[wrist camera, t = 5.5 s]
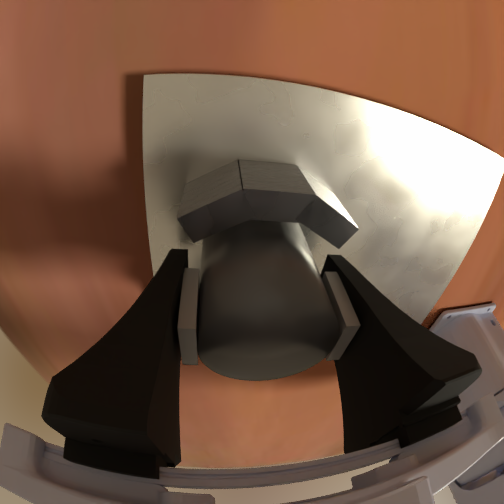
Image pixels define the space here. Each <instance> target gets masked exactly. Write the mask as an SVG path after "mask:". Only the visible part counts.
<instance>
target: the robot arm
mask: <svg viewBox="0 0 504 504" xmlns="http://www.w3.org/2000/svg"><path fill="white" fill-rule="evenodd" d="M185 268H188V249H171V250H170V251H169V252H168V254H167V256H166V258H165V260H164V261H163V263H162V265H161V266H160V268H159V269H158V271H157V272H156V274H155V275H154V277H153V278H152V280H151V281H150V283H149V284H148V286H147V287H146V288H145V290H144V291H143V292H142V294H141V295H140V296H139V297H138V299H137V300H136V301H135V303H134V304H133V305H132V306H131V308H130V309H129V310H128V311H127V312H126V313H125V315H124V316H123V317H122V318H121V319H120V320H119V321H118V322H117V323H116V324H115V325H114V326H113V327H112V328H111V329H110V330H109V332H108V333H107V334H106V335H104V336H103V337H102V338H101V339H100V340H99V341H98V342H97V343H96V344H95V345H93V346H92V347H91V348H90V349H89V350H88V351H86V352H85V353H84V354H83V355H82V356H81V357H79V358H78V359H77V360H76V361H74V362H73V363H72V364H70V365H69V366H67V367H66V368H65V369H63V370H62V371H60V372H59V373H58V374H56V375H55V376H53V377H52V379H51V382H50V385H49V387H48V390H47V393H46V398H45V402H44V406H43V411H42V415H41V416H42V418H43V420H44V421H45V422H46V423H47V424H48V425H49V426H50V427H52V428H53V429H54V430H56V431H57V432H59V433H60V434H62V435H63V436H64V437H66V438H65V446H64V448H63V447H60V446H57V445H54V444H51V443H48V442H45V441H44V440H43V439H41V438H40V437H38V436H36V435H34V434H32V433H30V432H28V431H25V430H23V429H20V428H18V427H16V426H13V425H11V424H9V423H5V425H4V431H3V436H2V441H1V447H0V486H2V487H3V488H5V489H7V490H9V491H10V492H12V493H14V494H16V495H18V496H20V497H22V498H24V499H25V500H27V501H29V502H31V503H34V504H215V498H214V497H213V496H212V495H210V494H191V493H180V492H169V491H168V490H167V489H166V488H165V487H175V488H176V487H177V488H192V489H193V488H194V489H236V488H253V487H265V486H273V485H282V484H290V483H295V482H302V481H308V480H313V479H318V478H323V477H328V476H332V475H336V474H340V473H344V472H348V471H352V470H355V469H359V468H362V467H366V466H369V465H372V464H375V463H378V462H381V461H384V460H387V459H390V458H391V460H390V461H389V463H388V464H386V465H383V466H380V467H378V468H375V469H373V470H371V471H368V472H366V473H363V474H360V475H357V476H354V477H352V478H351V481H352V485H353V488H352V489H350V490H346V491H342V492H339V493H334V494H331V495H326V496H322V497H317V498H312V499H307V500H301V501H296V502H289V503H282V504H435V502H434V498H433V495H435V494H436V493H438V492H439V491H440V490H442V489H443V488H445V487H446V486H447V485H448V486H449V488H450V490H451V492H452V494H453V497H454V499H455V500H456V503H457V504H504V330H503V329H502V327H501V326H500V324H499V322H498V321H497V319H496V318H495V316H494V315H493V313H492V312H493V310H494V309H495V307H496V304H495V303H490V304H485V305H479V306H473V307H467V308H460V309H453V310H446V311H444V312H443V313H441V315H440V316H439V317H438V319H437V320H436V321H435V323H434V324H433V325H432V327H431V328H430V329H429V330H428V329H427V328H425V327H424V326H422V325H421V324H419V323H418V322H416V321H415V320H414V319H412V318H411V317H410V316H408V315H407V314H406V313H404V312H403V311H402V310H401V309H399V308H398V307H397V306H396V305H395V304H393V303H392V302H391V301H390V300H389V299H388V298H387V297H385V296H384V295H383V294H382V293H381V292H380V291H379V290H378V289H377V288H376V287H375V286H374V285H373V284H371V283H370V282H369V281H368V280H367V279H366V278H365V277H364V276H363V275H362V274H361V273H360V272H359V271H358V270H357V269H356V268H355V267H354V266H353V265H352V264H351V263H350V262H348V261H347V260H346V259H345V258H344V257H343V256H342V255H331V254H327V257H326V260H325V263H324V266H323V269H322V271H321V274H320V276H321V278H323V275H324V272H337V274H338V275H339V277H340V279H341V281H342V284H343V286H344V288H345V290H346V293H347V295H348V297H349V299H350V302H351V304H352V306H353V309H354V311H355V313H356V316H357V318H358V320H359V323H360V327H359V329H358V330H357V332H356V334H355V335H354V337H353V338H352V340H351V342H350V343H349V345H348V346H347V348H346V349H345V351H344V353H343V354H342V356H341V357H340V359H339V360H334V362H335V366H336V371H337V376H338V382H339V388H340V395H341V403H342V413H343V428H344V453H345V454H343V455H339V456H334V457H330V458H325V459H320V460H315V461H309V462H303V463H297V464H289V465H281V466H272V467H261V468H249V469H220V470H218V469H215V470H213V469H211V470H210V469H209V470H207V469H182V468H168V467H175V466H176V465H178V464H179V463H180V462H181V449H180V425H179V378H180V361H181V350H180V343H179V336H178V318H179V308H180V299H181V291H182V282H183V274H184V270H185ZM163 486H164V487H163Z"/></svg>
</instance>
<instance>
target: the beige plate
mask: <svg viewBox="0 0 504 504" xmlns="http://www.w3.org/2000/svg"><path fill="white" fill-rule="evenodd" d="M143 169H144V188H145V203H146V215H147V226H148V236H149V245H150V253H151V261H152V269H153V276H154V275H155V274H156V272H157V271H158V269H159V268H160V266H161V265H162V263H163V261H164V260H165V258H166V256H167V254H168V252H169V251H170V250H171V249H188V268H199V287H200V270H201V256H202V243H203V239H204V238H207V237H209V236H211V235H214V234H216V233H218V232H221V231H223V230H225V229H228V228H230V227H232V226H235V225H237V224H240V223H242V222H244V221H247V220H259V221H277V222H292V223H298V224H299V225H300V227H301V229H302V232H303V234H304V236H305V239H306V241H307V244H308V246H309V248H310V251H311V253H312V256H313V258H314V261H315V263H316V266H317V268H318V271H319V273H320V274H321V271H322V269H323V266H324V263H325V260H326V257H327V254H331V255H342V256H343V257H344V258H345V259H346V260H347V261H348V262H350V263H351V264H352V265H353V266H354V267H355V268H356V269H357V270H358V271H359V272H360V273H361V274H362V275H363V276H364V277H365V278H366V279H367V280H368V281H369V282H370V283H371V284H373V285H374V286H375V287H376V288H377V289H378V290H379V291H380V292H381V293H382V294H383V295H384V296H385V297H387V298H388V299H389V300H390V301H391V302H392V303H393V304H395V305H396V306H397V307H398V308H399V309H401V310H402V311H403V312H404V313H406V314H407V315H408V316H410V317H411V318H412V319H414V320H415V321H416V322H418V323H419V324H422V322H423V321H424V319H425V318H426V317H427V315H428V314H429V312H430V311H431V310H432V308H433V307H434V305H435V304H436V302H437V301H438V299H439V298H440V296H441V295H442V293H443V292H444V290H445V289H446V287H447V286H448V284H449V282H450V281H451V279H452V277H453V276H454V274H455V273H456V271H457V269H458V267H459V266H460V264H461V262H462V261H463V259H464V257H465V255H466V253H467V252H468V250H469V248H470V246H471V244H472V242H473V240H474V238H475V236H476V234H477V232H478V230H479V228H480V226H481V224H482V222H483V220H484V218H485V216H486V214H487V211H488V209H489V207H490V205H491V202H492V200H493V198H494V195H495V193H496V190H497V188H498V185H499V183H500V180H501V177H502V175H503V172H504V158H502V157H501V156H499V155H498V154H496V153H494V152H493V151H491V150H489V149H487V148H485V147H484V146H482V145H480V144H478V143H476V142H474V141H472V140H470V139H468V138H466V137H464V136H462V135H460V134H458V133H456V132H454V131H451V130H449V129H447V128H445V127H442V126H440V125H438V124H435V123H433V122H431V121H428V120H426V119H423V118H421V117H418V116H416V115H413V114H410V113H407V112H405V111H402V110H399V109H396V108H393V107H390V106H387V105H384V104H381V103H378V102H375V101H371V100H368V99H364V98H361V97H357V96H353V95H350V94H346V93H342V92H338V91H333V90H329V89H325V88H320V87H315V86H310V85H305V84H300V83H294V82H288V81H281V80H274V79H267V78H259V77H250V76H239V75H226V74H207V73H159V74H147V75H144V83H143Z"/></svg>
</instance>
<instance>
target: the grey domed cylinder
mask: <svg viewBox="0 0 504 504" xmlns="http://www.w3.org/2000/svg"><path fill="white" fill-rule="evenodd" d="M359 327H360V323H359V320H358V318H357V316H356V313H355V311H354V309H353V306H352V304H351V302H350V299H349V297H348V295H347V293H346V290H345V288H344V286H343V284H342V281H341V279H340V277H339V275H338V274H337V272H324V275H323V278H321V276H320V273H319V271H318V268H317V266H316V263H315V261H314V258H313V256H312V253H311V251H310V248H309V246H308V244H307V241H306V239H305V236H304V234H303V232H302V229H301V227H300V225H299V224H298V223H292V222H277V221H259V220H247V221H244V222H242V223H240V224H237V225H235V226H232V227H230V228H228V229H225V230H223V231H221V232H218V233H216V234H214V235H211V236H209V237H207V238H204V239H203V243H202V256H201V270H200V287H199V268H185V270H184V274H183V282H182V291H181V299H180V308H179V318H178V336H179V343H180V350H181V357H182V363H183V364H184V365H198V355H199V358H200V359H201V361H202V362H203V363H204V364H205V365H206V366H207V367H208V368H209V369H211V370H212V371H214V372H216V373H218V374H221V375H223V376H226V377H229V378H234V379H239V380H249V381H261V380H272V379H278V378H283V377H287V376H290V375H294V374H296V373H299V372H302V371H304V370H306V369H308V368H310V367H312V366H314V365H315V364H317V363H318V362H320V361H321V360H323V359H324V358H326V361H330V360H339V359H340V357H341V356H342V354H343V353H344V351H345V349H346V348H347V346H348V345H349V343H350V342H351V340H352V338H353V337H354V335H355V334H356V332H357V330H358V329H359Z"/></svg>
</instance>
